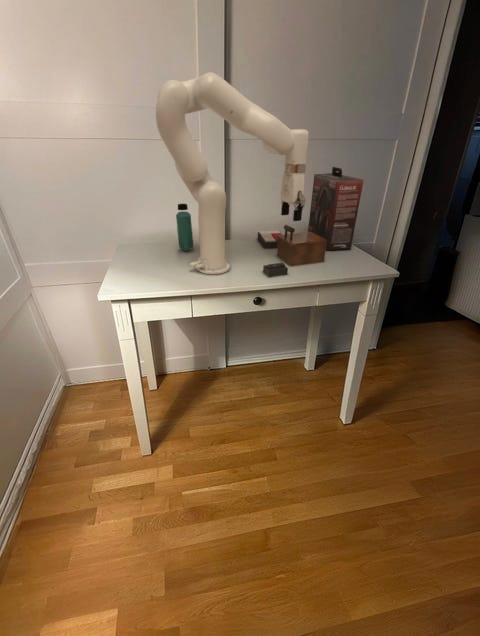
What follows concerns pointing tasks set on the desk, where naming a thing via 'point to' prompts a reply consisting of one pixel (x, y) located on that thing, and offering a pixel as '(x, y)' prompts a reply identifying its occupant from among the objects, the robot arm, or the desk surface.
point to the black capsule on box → (275, 269)
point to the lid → (299, 237)
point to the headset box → (335, 208)
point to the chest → (301, 253)
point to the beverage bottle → (184, 228)
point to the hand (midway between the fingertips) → (290, 217)
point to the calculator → (268, 238)
